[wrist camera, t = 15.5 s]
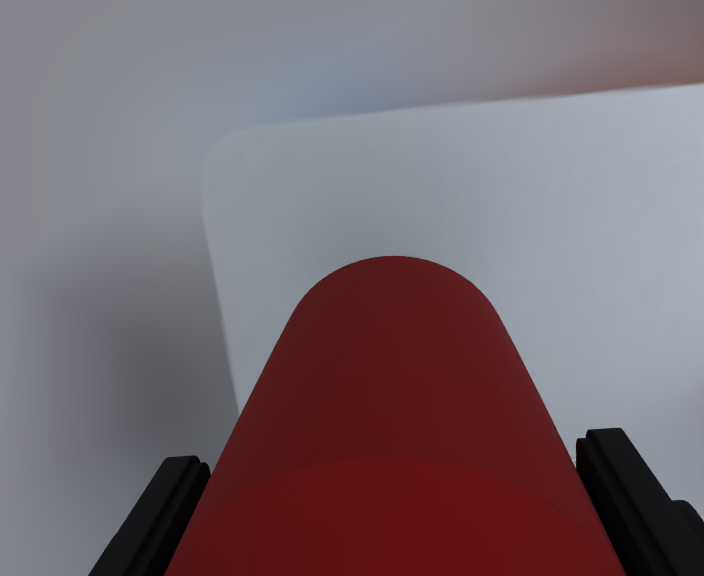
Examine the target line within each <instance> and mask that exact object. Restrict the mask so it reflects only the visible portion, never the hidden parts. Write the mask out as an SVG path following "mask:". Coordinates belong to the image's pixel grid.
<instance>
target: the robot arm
mask: <svg viewBox="0 0 704 576" xmlns="http://www.w3.org/2000/svg"><path fill="white" fill-rule="evenodd" d="M576 470H577V472H578V474H579V476H580V478H581V480H582V482H583V484H584V486H585V488H586V490H587V493H588V495H589V497H590V499H591V501H592V503H593V505H594V507H595V509H596V512H597V514H598V516H599V518H600V520H601V522H602V524H603V526H604V528H605V531H606V533H607V535H608V537H609V539H610V541H611V543H612V545H613V547H614V549H615V552H616V554H617V556H618V558H619V560H620V562H621V564H622V566H623V568H624V571H625V573H626V575H627V576H704V521H703V520H702V518H701V517H700V516H699V514H698V513H697V512H696V510H695V509H694V508H693V507H692V506H691V505H690V504H689V502H686V501H684V500H673V501H672V500H671V499H670V497H669V496H668V494H667V493H666V492H665V490H664V489H663V487H662V486H661V484H660V483H659V481H658V480H657V479H656V477H655V476H654V474H653V473H652V471H651V470H650V468H649V467H648V466H647V464H646V463H645V461H644V460H643V458H642V457H641V455H640V454H639V453H638V451H637V450H636V448H635V447H634V445H633V444H632V442H631V441H630V440H629V438H628V437H627V435H626V434H625V432H624V431H623V430H622V429H621V428H607V429H592V430H588V431H587V433H586V438H578V439H577V442H576ZM210 477H211V473H210V469H209V466H208V464H207V463H204V462H202V463H200V460H199V458H198V457H197V456H195V455H194V456H180V457H168V458H166V459H165V460H164V461H163V463H162V464H161V466H160V467H159V469H158V470H157V472H156V474H155V475H154V477H153V478H152V480H151V481H150V483H149V484H148V486H147V487H146V489H145V491H144V492H143V494H142V495H141V497H140V498H139V500H138V502H137V503H136V505H135V506H134V507H133V509H132V511H131V512H130V514H129V515H128V517H127V518H126V520H125V521H124V523H123V525H122V526H121V528H120V529H119V531H118V532H117V533H116V535H115V536H114V537H113V538H112V540H111V541H110V543H109V544H108V546H107V547H106V549H105V550H104V552H103V554H102V555H101V556H100V558H99V560H98V561H97V563H96V564H95V566H94V567H93V569H92V570H91V572H90V573H89V575H88V576H164V574H165V572H166V570H167V568H168V566H169V564H170V562H171V560H172V557H173V555H174V553H175V551H176V549H177V547H178V545H179V543H180V540H181V538H182V536H183V534H184V532H185V530H186V528H187V526H188V523H189V521H190V519H191V517H192V515H193V513H194V511H195V509H196V507H197V504H198V502H199V500H200V498H201V496H202V494H203V492H204V490H205V487H206V485H207V483H208V481H209V479H210Z"/></svg>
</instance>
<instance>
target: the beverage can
mask: <svg viewBox="0 0 704 576" xmlns="http://www.w3.org/2000/svg"><path fill="white" fill-rule="evenodd" d="M164 576H627V575H626V573H625V571H624V568H623V566H622V564H621V562H620V560H619V558H618V556H617V554H616V552H615V549H614V547H613V545H612V543H611V541H610V539H609V537H608V535H607V533H606V531H605V528H604V526H603V524H602V522H601V520H600V518H599V516H598V514H597V512H596V509H595V507H594V505H593V503H592V501H591V499H590V497H589V495H588V493H587V490H586V488H585V486H584V484H583V482H582V480H581V478H580V476H579V474H578V472H577V470H576V468H575V466H574V464H573V462H572V460H571V458H570V456H569V454H568V452H567V449H566V447H565V445H564V443H563V441H562V439H561V437H560V435H559V433H558V431H557V429H556V427H555V425H554V423H553V421H552V419H551V417H550V415H549V413H548V411H547V409H546V407H545V405H544V403H543V401H542V399H541V397H540V395H539V393H538V391H537V389H536V387H535V385H534V383H533V381H532V379H531V377H530V375H529V373H528V371H527V369H526V367H525V365H524V363H523V361H522V359H521V357H520V355H519V353H518V351H517V349H516V347H515V345H514V343H513V342H512V340H511V338H510V336H509V334H508V332H507V330H506V328H505V327H504V325H503V323H502V321H501V319H500V317H499V315H498V313H497V312H496V310H495V309H494V307H493V305H492V304H491V303H490V302H489V300H488V299H487V298H486V296H485V295H484V294H483V293H482V292H481V291H480V290H479V289H478V288H477V287H476V286H475V285H473V284H472V283H471V282H470V281H468V280H467V279H466V278H464V277H463V276H461V275H460V274H458V273H456V272H455V271H453V270H451V269H449V268H447V267H445V266H442V265H440V264H437V263H434V262H431V261H428V260H424V259H419V258H414V257H406V256H382V257H374V258H369V259H365V260H361V261H358V262H354V263H351V264H349V265H346V266H344V267H342V268H340V269H338V270H336V271H334V272H332V273H331V274H329V275H328V276H326V277H325V278H323V279H322V280H321V281H319V282H318V283H317V284H316V285H315V286H313V287H312V288H311V289H310V290H309V291H308V292H307V294H306V295H305V296H304V297H303V298H302V299H301V301H300V302H299V303H298V305H297V306H296V308H295V310H294V311H293V313H292V315H291V317H290V319H289V321H288V322H287V324H286V326H285V328H284V330H283V332H282V334H281V336H280V338H279V340H278V341H277V343H276V345H275V347H274V349H273V351H272V353H271V355H270V357H269V359H268V361H267V363H266V365H265V367H264V369H263V371H262V373H261V375H260V377H259V379H258V381H257V383H256V385H255V387H254V389H253V391H252V393H251V395H250V397H249V399H248V401H247V403H246V405H245V407H244V409H243V411H242V413H241V415H240V417H239V419H238V421H237V423H236V425H235V427H234V429H233V432H232V434H231V436H230V438H229V440H228V442H227V444H226V446H225V448H224V450H223V452H222V454H221V456H220V458H219V460H218V463H217V464H216V467H215V469H214V471H213V473H212V475H211V477H210V479H209V481H208V483H207V485H206V487H205V490H204V492H203V494H202V496H201V498H200V500H199V502H198V504H197V507H196V509H195V511H194V513H193V515H192V517H191V519H190V521H189V523H188V526H187V528H186V530H185V532H184V534H183V536H182V538H181V540H180V543H179V545H178V547H177V549H176V551H175V553H174V555H173V557H172V560H171V562H170V564H169V566H168V568H167V570H166V572H165V574H164Z"/></svg>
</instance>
